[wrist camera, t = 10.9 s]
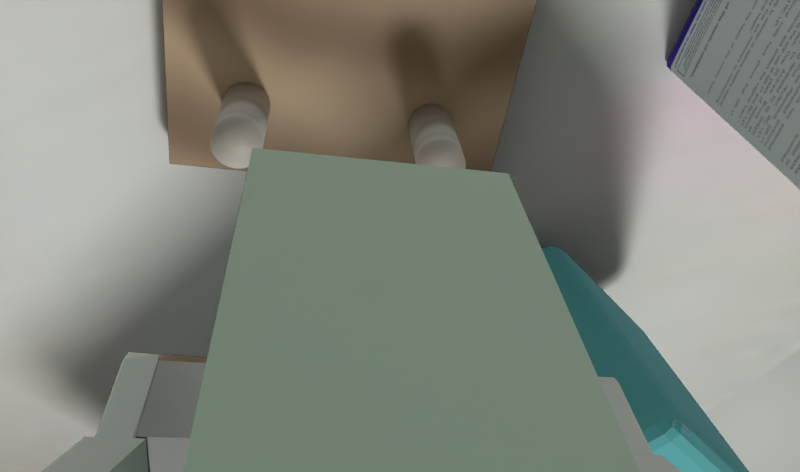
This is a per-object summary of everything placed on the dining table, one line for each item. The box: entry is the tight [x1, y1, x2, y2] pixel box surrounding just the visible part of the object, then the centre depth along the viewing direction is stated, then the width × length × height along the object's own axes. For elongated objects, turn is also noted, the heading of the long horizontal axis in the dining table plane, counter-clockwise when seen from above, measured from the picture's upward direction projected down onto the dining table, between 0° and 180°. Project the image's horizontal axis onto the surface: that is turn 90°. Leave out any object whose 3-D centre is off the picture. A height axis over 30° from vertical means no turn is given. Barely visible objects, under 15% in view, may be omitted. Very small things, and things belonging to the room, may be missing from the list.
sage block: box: [183, 148, 640, 472], centre depth 10 cm, size 5×5×9 cm
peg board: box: [162, 0, 537, 172], centre depth 26 cm, size 15×15×6 cm
